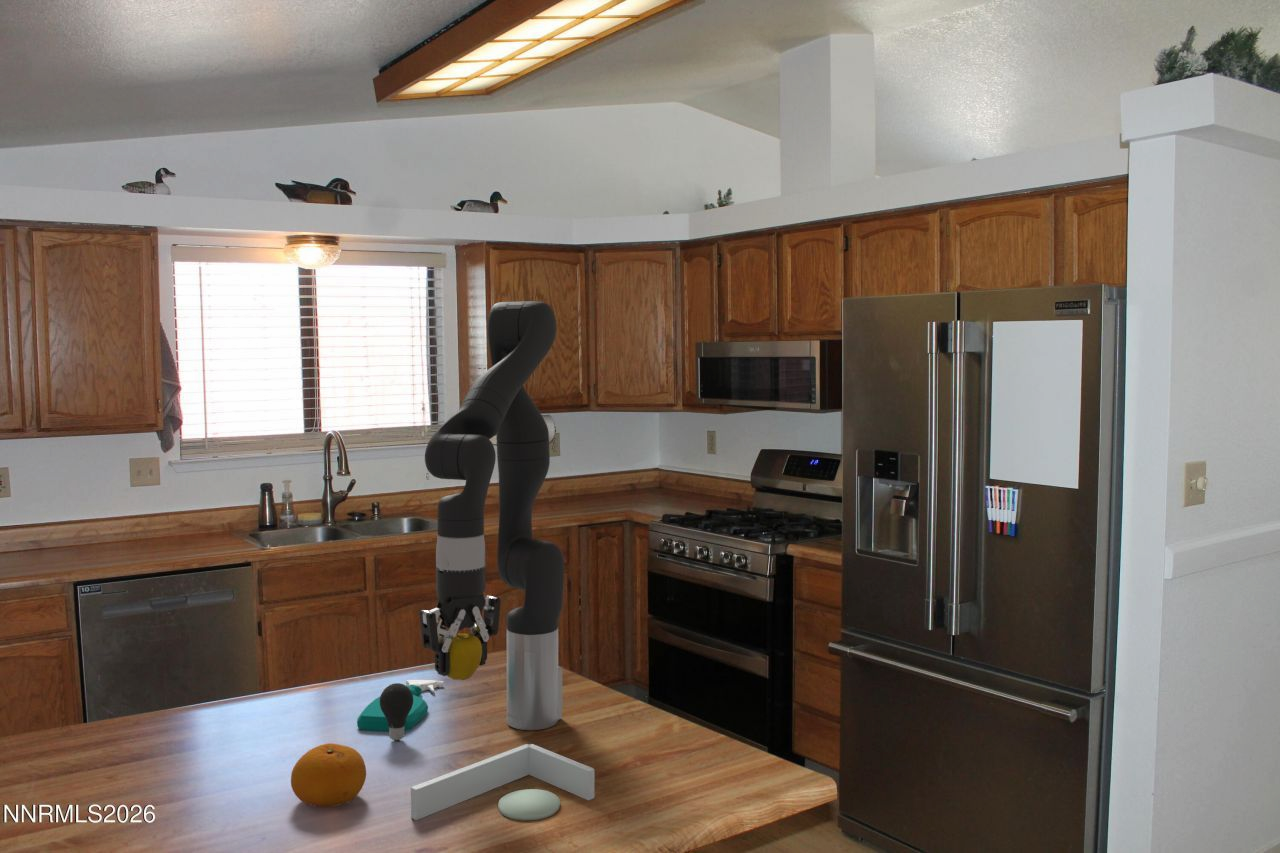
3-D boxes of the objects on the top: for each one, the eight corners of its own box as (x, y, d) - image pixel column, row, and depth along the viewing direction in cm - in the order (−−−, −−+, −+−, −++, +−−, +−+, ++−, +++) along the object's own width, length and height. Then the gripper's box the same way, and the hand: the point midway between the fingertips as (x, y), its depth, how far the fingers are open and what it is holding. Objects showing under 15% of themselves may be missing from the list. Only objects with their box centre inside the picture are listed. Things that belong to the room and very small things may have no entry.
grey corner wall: (529, 770, 163) (529, 742, 163) (594, 797, 153) (594, 768, 153) (411, 817, 146) (410, 787, 146) (475, 852, 137) (475, 819, 136)
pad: (531, 787, 157) (531, 783, 156) (572, 805, 151) (572, 801, 150) (485, 806, 150) (485, 802, 150) (526, 826, 144) (526, 822, 144)
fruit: (326, 823, 144) (325, 768, 144) (277, 805, 150) (276, 752, 149) (381, 796, 153) (380, 744, 153) (333, 780, 159) (332, 730, 158)
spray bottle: (351, 732, 179) (397, 688, 203) (411, 735, 178) (451, 690, 202) (351, 716, 179) (397, 673, 203) (411, 719, 178) (451, 676, 202)
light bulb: (405, 748, 171) (404, 690, 170) (374, 745, 172) (373, 688, 171) (419, 736, 177) (418, 679, 176) (388, 733, 178) (388, 677, 177)
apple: (431, 683, 156) (431, 632, 156) (454, 671, 162) (454, 621, 162) (467, 689, 154) (467, 637, 153) (489, 676, 160) (489, 626, 159)
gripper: (482, 552, 164) (482, 654, 166) (407, 566, 154) (408, 674, 155) (512, 559, 159) (512, 664, 161) (437, 574, 149) (437, 686, 150)
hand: (461, 669), depth 158 cm, fingers closed on apple, 6 cm apart
